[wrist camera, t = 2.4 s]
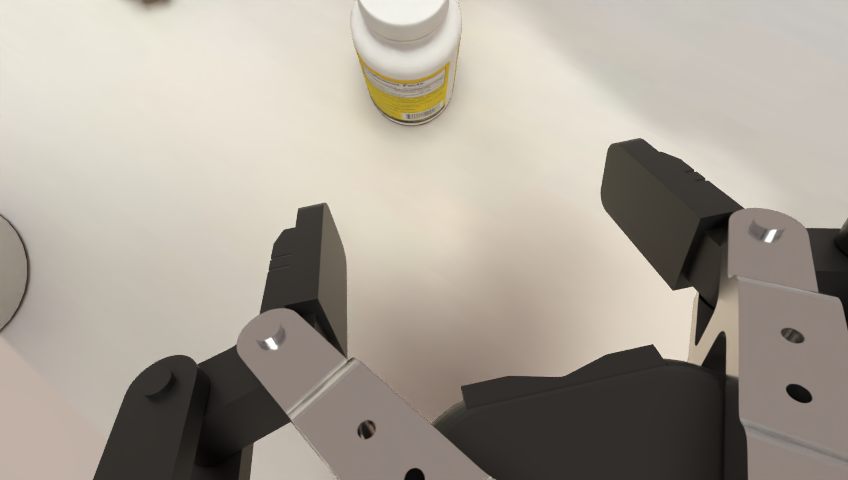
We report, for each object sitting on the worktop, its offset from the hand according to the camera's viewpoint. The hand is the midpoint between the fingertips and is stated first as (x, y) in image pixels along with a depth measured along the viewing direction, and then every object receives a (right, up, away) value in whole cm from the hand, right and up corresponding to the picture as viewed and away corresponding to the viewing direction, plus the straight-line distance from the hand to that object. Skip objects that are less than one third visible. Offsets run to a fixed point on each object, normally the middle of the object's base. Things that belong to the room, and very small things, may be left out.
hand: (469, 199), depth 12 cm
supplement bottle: (-2, +9, +15) cm, 17 cm away
